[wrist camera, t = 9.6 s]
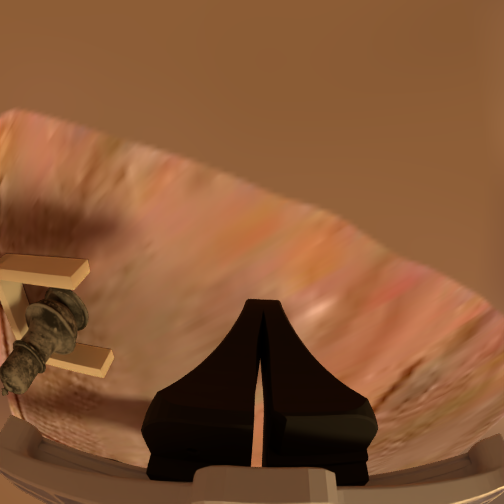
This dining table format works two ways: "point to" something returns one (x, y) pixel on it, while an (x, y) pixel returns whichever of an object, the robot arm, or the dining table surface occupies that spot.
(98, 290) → the dining table surface
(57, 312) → the dark bronze turned piece
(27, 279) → the holder
